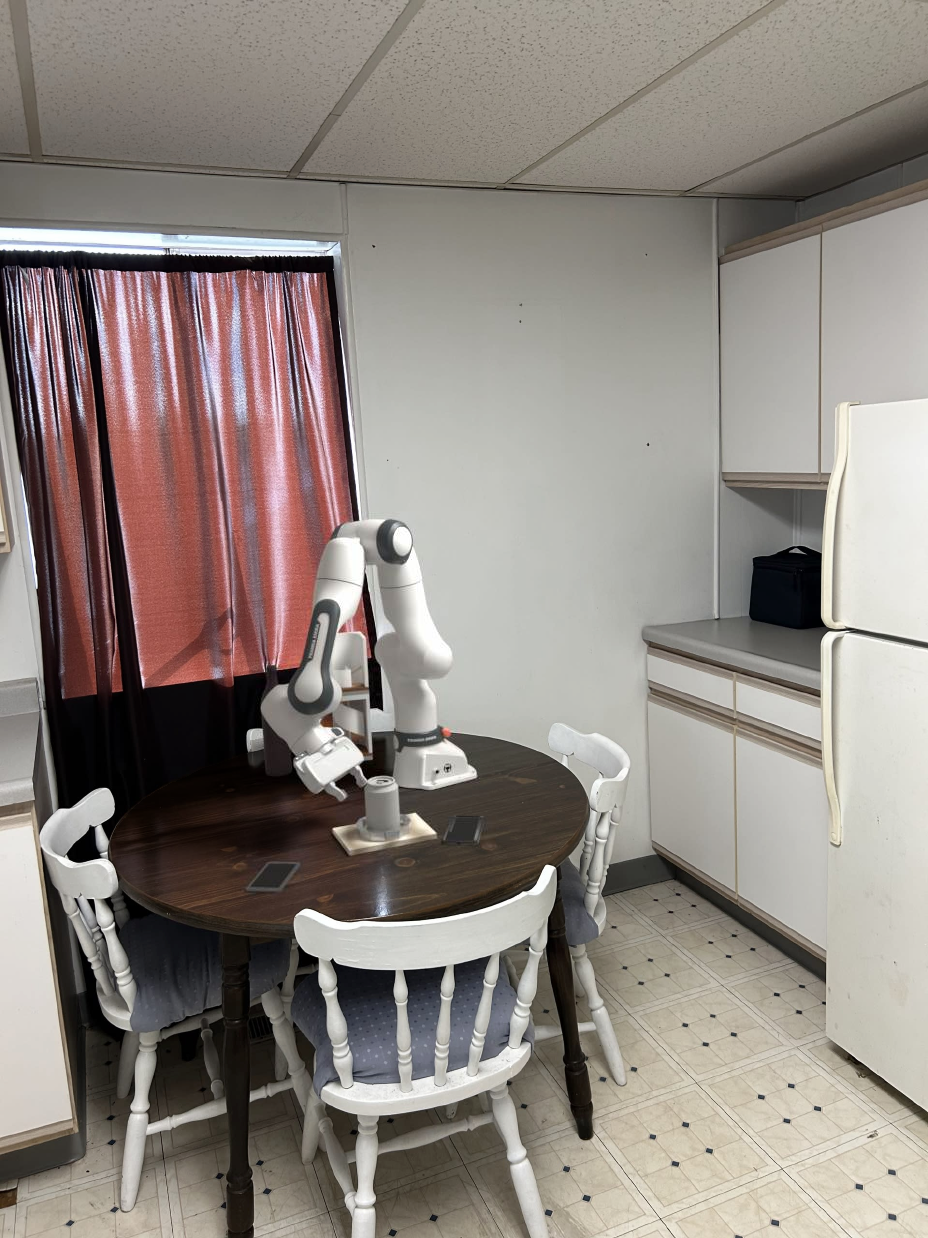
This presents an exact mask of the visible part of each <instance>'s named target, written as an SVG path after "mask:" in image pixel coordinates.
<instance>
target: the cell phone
mask: <svg viewBox="0 0 928 1238" xmlns="http://www.w3.org/2000/svg"><path fill="white" fill-rule="evenodd" d="M301 865H302V864H301V862H298V861H267V863H265V865H264V866H263V867H262V868H261V870H260V871H259V872H258V873H257V875H256V876H255V877H254V878H253V880H251V881H250V883H249V884H248V885H247V886H246V888H245V889H244V890H245V892H246V893H256V894H258V893H260V894H280V893H281V892H282V891H283V890H284V888H285V887H286V885H287V884H288V883H289V881H290V880H291V879H292V877H293V876H294V874H295V873H296V872H297V870H298V869H299V868H300V867H301Z"/></svg>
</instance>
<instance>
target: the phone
mask: <svg viewBox="0 0 928 1238" xmlns="http://www.w3.org/2000/svg"><path fill="white" fill-rule="evenodd" d="M485 821H486V820H485V816H483V815H482V816H481V815H453V816H451V818H450V821H449V823H448V824H447V828H446V830H445V833H444V835H443V837H442V842H443V845H448V846H449V845H452V846H453V845H454V846H455V845H456V846H457V845H458V846H461V845H462V846H475V845H478V844H479V842H480V838H481V834H482V831H483V828H484V824H485Z"/></svg>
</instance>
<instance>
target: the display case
mask: <svg viewBox="0 0 928 1238" xmlns="http://www.w3.org/2000/svg"><path fill="white" fill-rule="evenodd" d="M367 650H368V649H367V638H366V636H365V635H364V634H363V633H362V631H350V632H349V631H348V632H338V634H337V637H336V641H335V645H334V650H333V655H332V659H331V664H330V676H331V677H333V678H334V679H336V680H337V681H338V683H339V684H340V686H341V689H342V700H341V702H340V704H339V706H338V707H337V708H336V709H335V710H334V711H333V712H332V714H333V728H341V729H342V730H343V732H344V735H343V736H344V737H347V738H348V739H350V740H351V741H352V742H353V743H354V745H355V746H356V747H357V748H358V749H359V750H360V752H361V753H362V754H363V757H364V760H363V762H364V761H372V760H373V741H372V740H373V739H372V721H371V706H370V705H371V703H370V689H369V688H370V686H369V669H368V653H367V652H368V651H367ZM343 736H342V737H343Z"/></svg>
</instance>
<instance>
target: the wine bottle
mask: <svg viewBox="0 0 928 1238" xmlns="http://www.w3.org/2000/svg"><path fill="white" fill-rule="evenodd" d="M277 672H278V667H277V665H276V664H269V665H266V668H265V673H266V676H267V678H266V679H267V680H266V685H265V689H264V691H263V692H262V696H261V699H260V700H261V701H260V705H261V704H262V702H263V699H264V698H265V696H266V695H267V694H268V692H269V691H270V690H272V689H273V688H274V687H275V686H277V685H280V684H279V682H278V675H277ZM260 712H261V711H260ZM260 714H261V726H262V727H261V728H262V739H263V740H262V741H263V754H264V766H265V767H264V768H265V774H266V775H267V776H270V777H285V776H287V775H289V774H291V773H292V770H293V765H292V750H291V749H290V748H289V746H288V744H287V742H286V741H285V740H284V739H283V738H281V737H279V736H278V735H277V733H276V732H275V731H274V730H273V729H272V728H271V726H270V725H269V724H268V722H267V721H266V720H265V718H264V716H263V714H262V712H261V713H260Z"/></svg>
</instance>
